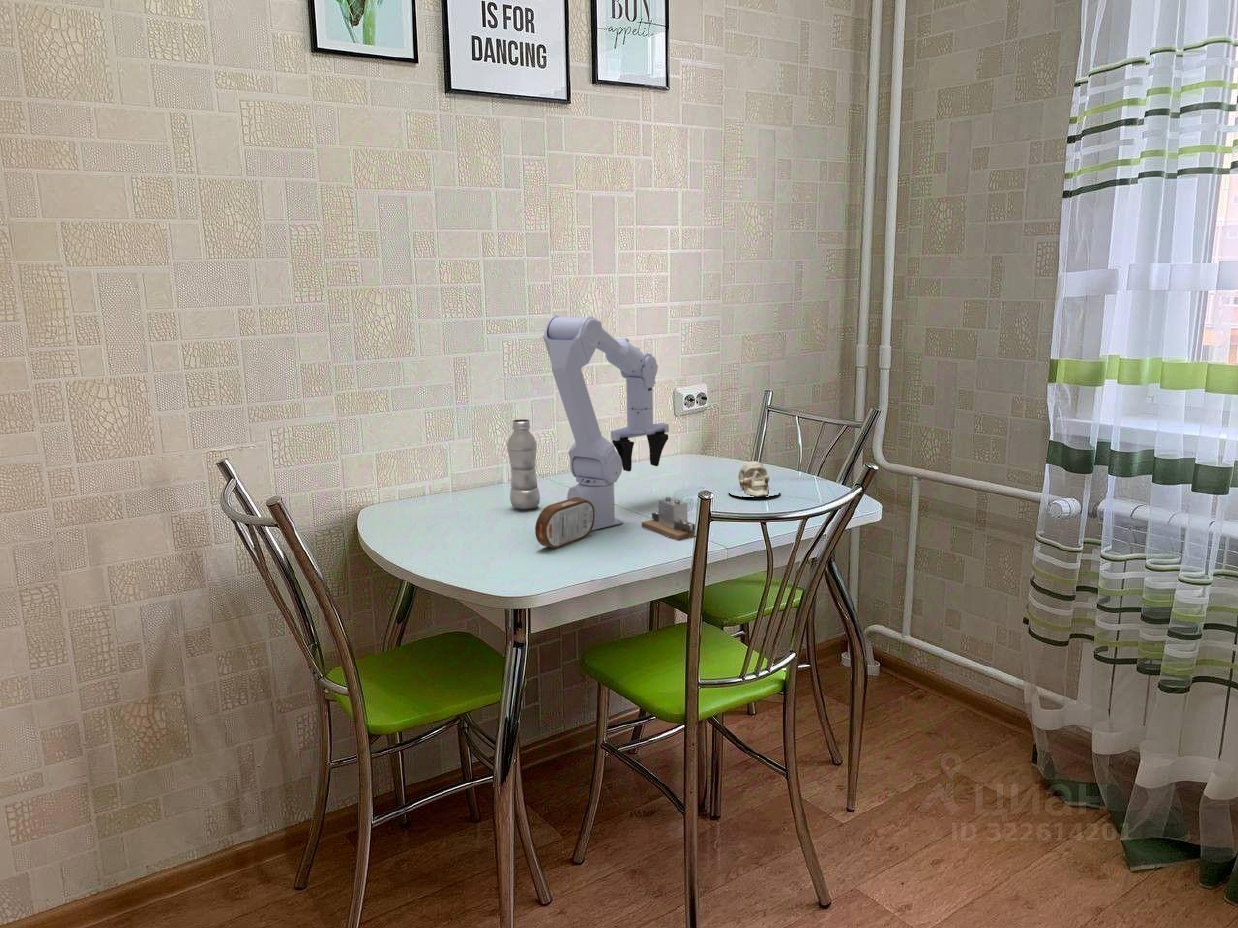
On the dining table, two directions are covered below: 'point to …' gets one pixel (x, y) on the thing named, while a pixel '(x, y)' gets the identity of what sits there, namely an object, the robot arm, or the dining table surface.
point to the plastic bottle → (523, 466)
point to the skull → (754, 479)
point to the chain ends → (683, 525)
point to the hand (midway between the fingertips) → (640, 467)
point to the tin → (564, 522)
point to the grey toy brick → (672, 513)
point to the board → (667, 530)
